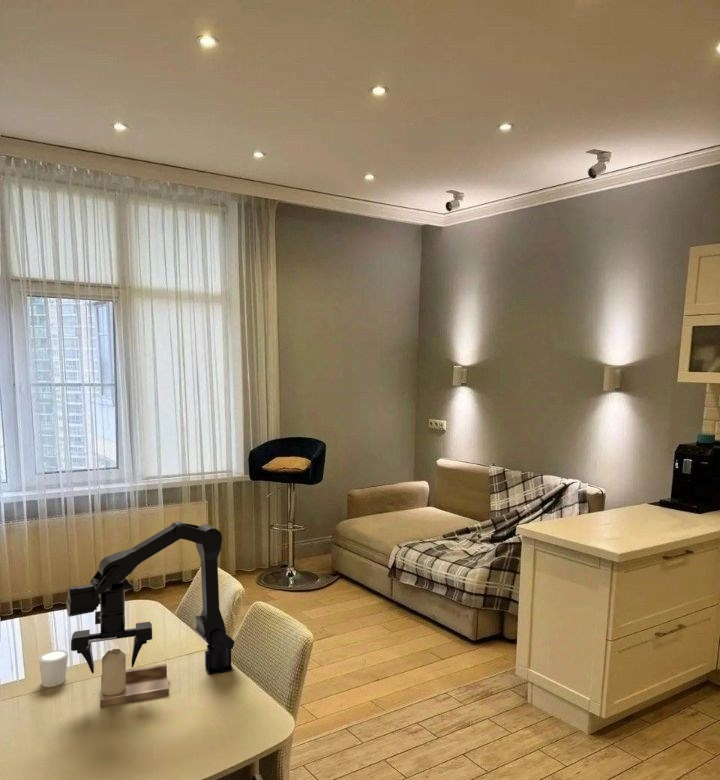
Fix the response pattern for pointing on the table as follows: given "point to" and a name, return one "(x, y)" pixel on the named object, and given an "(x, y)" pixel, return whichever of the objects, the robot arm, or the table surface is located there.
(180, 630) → the table surface
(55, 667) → the white cylinder
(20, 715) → the table surface
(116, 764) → the table surface
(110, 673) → the candle
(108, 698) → the board
